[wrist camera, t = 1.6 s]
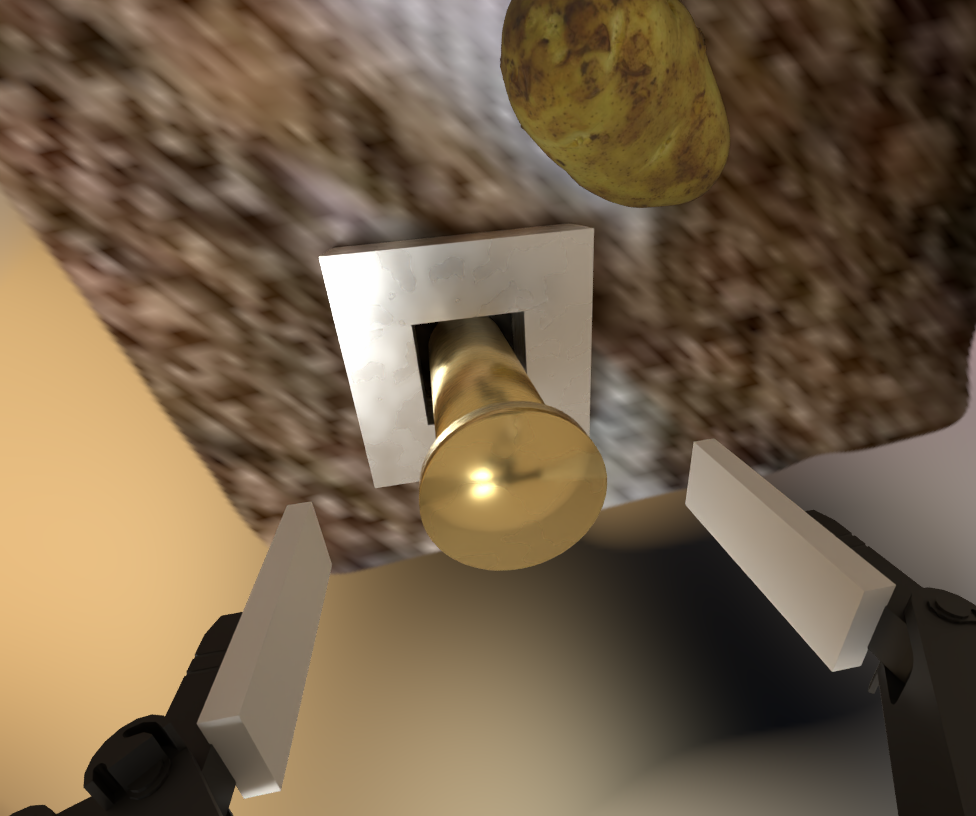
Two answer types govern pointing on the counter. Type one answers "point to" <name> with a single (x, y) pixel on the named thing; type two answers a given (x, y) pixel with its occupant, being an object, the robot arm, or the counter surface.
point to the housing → (457, 295)
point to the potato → (618, 96)
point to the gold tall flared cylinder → (501, 457)
